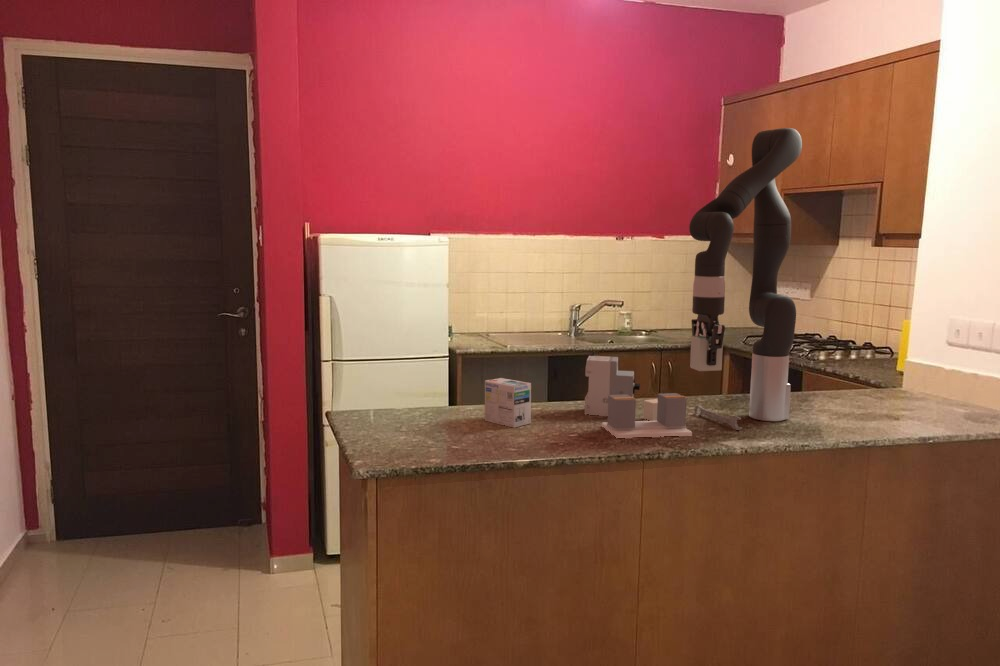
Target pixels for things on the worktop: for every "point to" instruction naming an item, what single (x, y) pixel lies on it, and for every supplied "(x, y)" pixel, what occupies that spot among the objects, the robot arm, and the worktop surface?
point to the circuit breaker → (606, 383)
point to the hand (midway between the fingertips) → (706, 362)
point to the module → (703, 355)
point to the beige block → (650, 409)
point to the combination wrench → (719, 417)
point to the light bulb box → (508, 402)
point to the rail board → (667, 423)
